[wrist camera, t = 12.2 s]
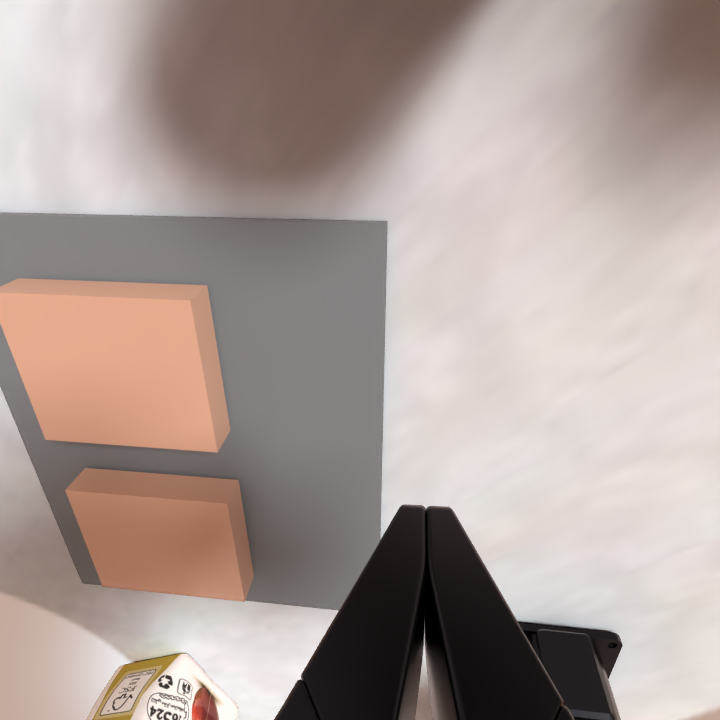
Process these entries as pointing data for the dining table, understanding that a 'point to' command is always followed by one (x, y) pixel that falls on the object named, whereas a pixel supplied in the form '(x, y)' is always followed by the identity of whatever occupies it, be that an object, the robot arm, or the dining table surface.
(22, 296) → the tile
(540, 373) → the dining table surface
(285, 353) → the mat
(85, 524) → the tile
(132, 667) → the juice carton
